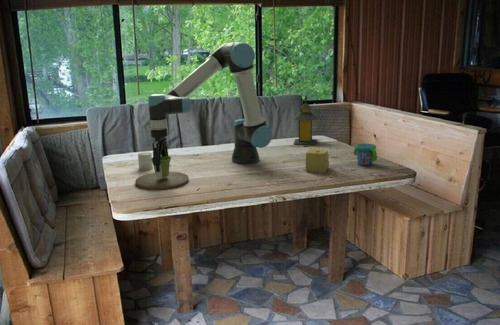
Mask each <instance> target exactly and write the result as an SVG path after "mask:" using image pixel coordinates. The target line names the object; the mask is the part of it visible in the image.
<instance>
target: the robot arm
mask: <svg viewBox="0 0 500 325" xmlns="http://www.w3.org/2000/svg"><path fill="white" fill-rule="evenodd" d="M255 57H256V55H255V50H254V49H253V47H252V46H251V45H250V44H249V43H247V42H243V41H228V42H225V43H223V44H221V45H220V46H219V47H217V49H215V50H214V51H213V52H212V53H211V54H209V55H208V58H207V60H205V61H204V62H203V63H202V64H201V65H199V66H198V67H197V68H196V69H194V70H193V71H192V72H191V73H190V74H188V75H187V77H185V78H184V79H183V80H182V81H180V82H179V83H178V84H177V85H176V86H174V87H173V88H172V89H171V90H169V91H168V92H167V93H163V94H161V93H158V94H157V93H155V94H151V95H148V112H149V113H148V114H149V122H148V123H149V124H150V125H149V126H150V128H151V129H150V136H151V138H154V142H153V143H152V145H151V146H152V158H153V163H152V165H155V170H156V178H162V168H161V164H160V161H161V156H169V150H168V142H167V137H168V128H167V127H168V124H167V123H168V122H167V116H168V115H178V114H186V113H189V112H190V111H191V110H192V109H191V108H192V102H191V99H190V97H189V96H191V95H192V93H194V92H195V91H196V90H197V89H198V88H200V87H201V86H202V85H203V84H204V83H206V82H207V81H208V80H209V79H211V77H213V75H216V73H217V72H221V71H223V70H224V69H226V68H228V67H229V72H230V74H232V75H233V76H234V79H235V83H236V86H237V91H238V95H239V99H240V100H239V101H240V104H241V106H242V111H243V112H242V113H243V116H244V118H239V119H235V120H234V122H233V135H234V136H233V139H234V147H233V148H234V149H233V151H232V155H231V162H232V163H234V164H243V165H246V164H247V165H248V164H254V163H255V164H256V163H257V162H259V161H260V155H259V151H258V149H257V148H259V149H260V148H261V149H262V148H266V147H267V146H268V145H269V144H270V143H271V141H272V140H273V131H272V129H271V128H270V127H269V126H268V124H267V121H266V118H265V117H263V116H262V112H261V109H260V103H259V100H258V96H257V89H256V86H255V82H254V77H253V73H252V71H253V69H254V62H255ZM155 170H154V171H155Z"/></svg>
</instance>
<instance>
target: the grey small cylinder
mask: <svg viewBox="0 0 500 325" xmlns="http://www.w3.org/2000/svg"><path fill="white" fill-rule="evenodd" d="M151 158H153V152H150V151H149V152H148V151H147V152H146V151H145V152H140V153H139V152H138V153H137V159H138V160H137V162H138V170H139V171H146V172H147V171H150V170H153V169H154V166H153V163H152V160H151Z"/></svg>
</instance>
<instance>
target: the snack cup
mask: <svg viewBox="0 0 500 325" xmlns="http://www.w3.org/2000/svg"><path fill="white" fill-rule="evenodd" d="M354 145H355V146H354V150H353V154H354V156H356V161H357V165H360V166H371V165H373V163H374V162H376V161H377V159H378V156H377V155H378V154H377V151H376V149H377V145H375V144H373V143H357V144H354Z"/></svg>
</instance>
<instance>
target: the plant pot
mask: <svg viewBox="0 0 500 325" xmlns="http://www.w3.org/2000/svg"><path fill="white" fill-rule="evenodd" d="M171 159H172V157H171V156H169V155H168V156H161V161H160V164H161V168H162V177H167V176H168V175H169V172H170V165H171V164H170V162H171ZM151 160H152V165H153V157H152V158H151ZM153 169H154V173H155V175H156V170H155V165H153Z"/></svg>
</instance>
